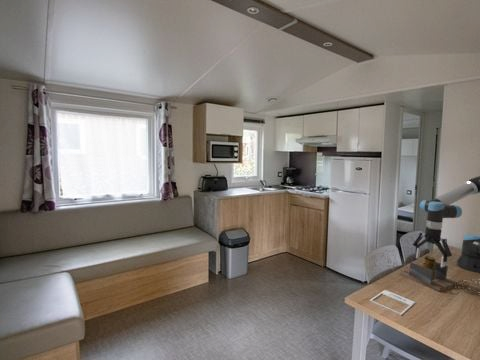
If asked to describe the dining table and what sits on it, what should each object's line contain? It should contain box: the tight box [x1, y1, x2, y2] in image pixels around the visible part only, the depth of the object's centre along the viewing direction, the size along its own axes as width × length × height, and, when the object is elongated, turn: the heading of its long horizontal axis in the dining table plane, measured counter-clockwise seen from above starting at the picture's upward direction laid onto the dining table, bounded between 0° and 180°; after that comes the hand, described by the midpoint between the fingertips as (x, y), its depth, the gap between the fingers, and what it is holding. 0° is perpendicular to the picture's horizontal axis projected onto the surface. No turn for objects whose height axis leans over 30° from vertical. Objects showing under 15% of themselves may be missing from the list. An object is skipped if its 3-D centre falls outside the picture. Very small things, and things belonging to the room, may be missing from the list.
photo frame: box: [369, 289, 416, 316], centre depth 135 cm, size 15×1×18 cm
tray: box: [399, 261, 457, 293], centre depth 161 cm, size 18×22×10 cm
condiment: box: [422, 256, 439, 281], centre depth 160 cm, size 7×8×12 cm
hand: (429, 262), depth 160 cm, fingers open, 13 cm apart
